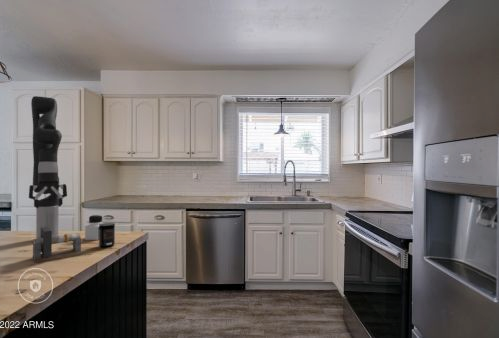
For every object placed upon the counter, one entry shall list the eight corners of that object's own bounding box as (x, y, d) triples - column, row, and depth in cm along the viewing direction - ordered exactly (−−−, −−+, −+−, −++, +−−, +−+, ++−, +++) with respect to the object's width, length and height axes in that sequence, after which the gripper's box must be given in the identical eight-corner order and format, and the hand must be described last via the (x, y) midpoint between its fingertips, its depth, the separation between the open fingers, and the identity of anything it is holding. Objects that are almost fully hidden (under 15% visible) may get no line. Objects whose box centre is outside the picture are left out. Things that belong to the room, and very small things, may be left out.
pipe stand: (32, 258, 116) (32, 236, 116) (77, 250, 127) (77, 231, 127) (34, 263, 110) (35, 240, 110) (81, 254, 121) (81, 234, 121)
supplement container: (110, 243, 139) (110, 222, 139) (117, 246, 135) (117, 224, 135) (96, 246, 134) (96, 224, 134) (102, 249, 130) (102, 226, 130)
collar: (40, 251, 119) (40, 227, 119) (47, 250, 121) (47, 226, 120) (44, 257, 112) (44, 231, 112) (51, 255, 113) (51, 230, 113)
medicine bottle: (98, 240, 145) (98, 216, 145) (84, 240, 145) (84, 216, 145) (105, 236, 152) (106, 214, 152) (92, 236, 152) (92, 214, 152)
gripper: (64, 172, 139) (65, 205, 138) (27, 172, 129) (28, 208, 129) (68, 171, 134) (68, 206, 133) (29, 171, 124) (30, 209, 123)
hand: (48, 207), depth 131 cm, fingers open, 8 cm apart
